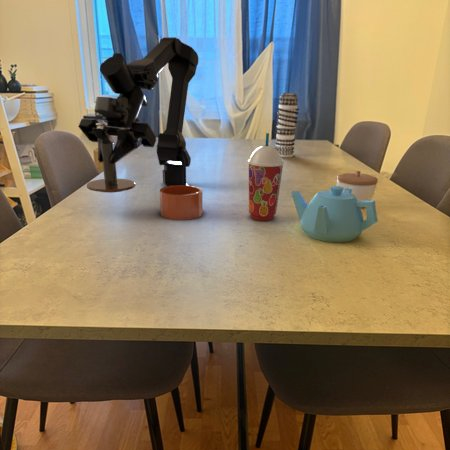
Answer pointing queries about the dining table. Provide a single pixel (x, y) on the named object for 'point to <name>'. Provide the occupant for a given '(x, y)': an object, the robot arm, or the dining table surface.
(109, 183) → the brown disc with post
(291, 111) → the white patterned cylinder
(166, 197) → the crock
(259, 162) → the smoothie
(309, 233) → the teapot
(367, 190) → the trinket box
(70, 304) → the dining table surface
